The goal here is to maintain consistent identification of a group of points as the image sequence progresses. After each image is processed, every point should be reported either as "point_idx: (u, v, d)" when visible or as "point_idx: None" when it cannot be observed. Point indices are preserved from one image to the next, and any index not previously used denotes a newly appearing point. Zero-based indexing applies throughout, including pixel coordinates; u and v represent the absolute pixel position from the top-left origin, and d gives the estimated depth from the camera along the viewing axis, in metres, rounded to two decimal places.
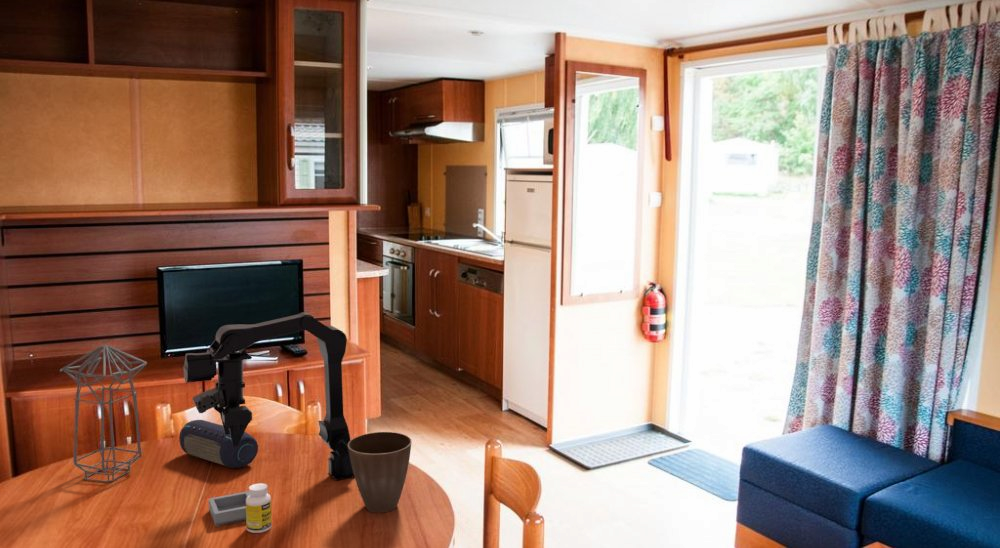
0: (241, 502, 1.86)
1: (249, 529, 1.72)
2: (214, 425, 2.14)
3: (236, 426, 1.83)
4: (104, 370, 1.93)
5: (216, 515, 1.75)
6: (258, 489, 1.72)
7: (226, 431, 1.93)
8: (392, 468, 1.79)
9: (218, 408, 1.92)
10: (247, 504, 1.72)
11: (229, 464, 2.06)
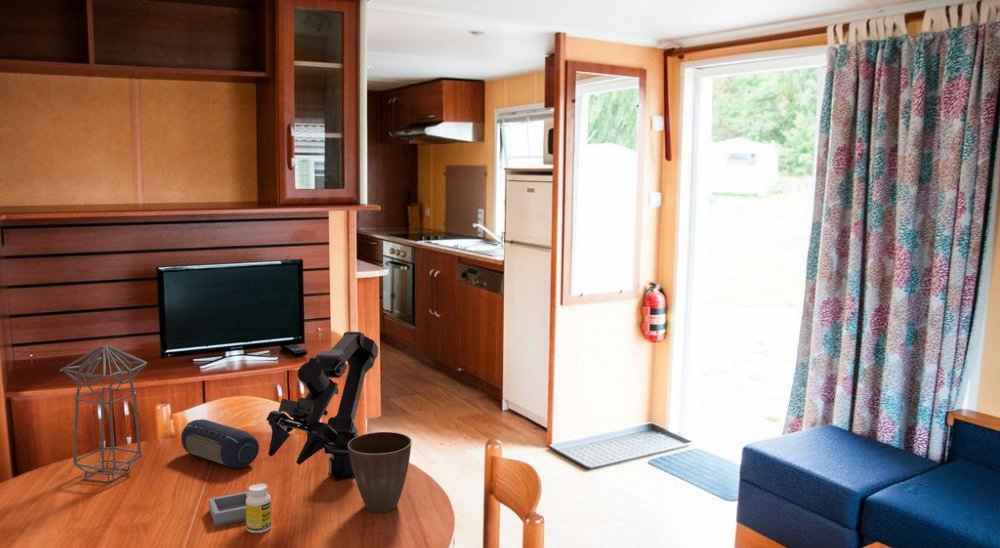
0: (241, 502, 1.86)
1: (249, 529, 1.72)
2: (216, 425, 2.14)
3: (313, 444, 1.79)
4: (104, 370, 1.93)
5: (216, 515, 1.75)
6: (258, 489, 1.72)
7: (271, 452, 1.82)
8: (392, 468, 1.79)
9: (278, 425, 1.84)
10: (247, 504, 1.72)
11: (230, 464, 2.06)
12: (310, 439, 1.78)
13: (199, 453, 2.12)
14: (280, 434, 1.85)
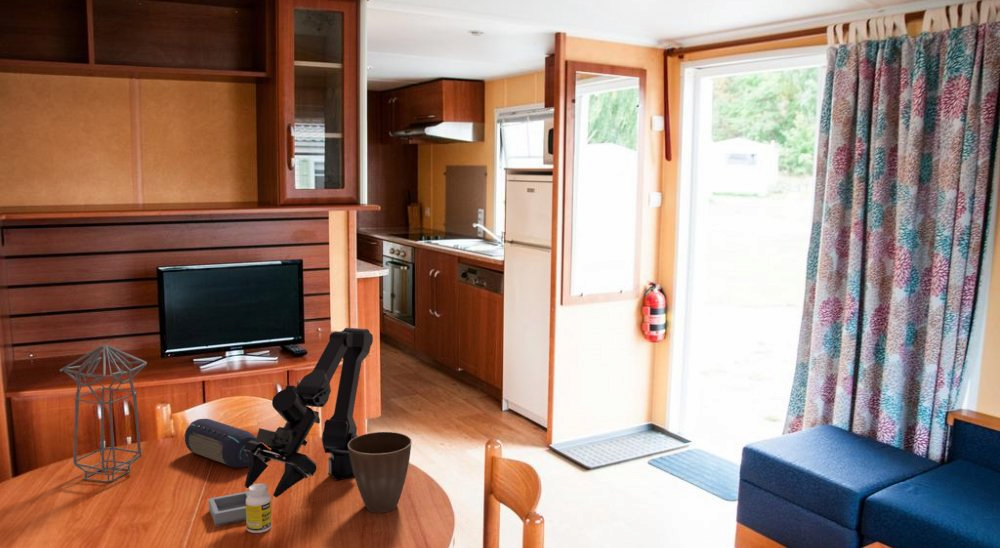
0: (241, 502, 1.86)
1: (249, 529, 1.72)
2: (218, 424, 2.14)
3: (291, 476, 1.74)
4: (104, 370, 1.93)
5: (216, 515, 1.75)
6: (258, 489, 1.72)
7: (248, 483, 1.76)
8: (392, 468, 1.79)
9: (255, 456, 1.79)
10: (247, 504, 1.72)
11: (231, 464, 2.07)
12: (288, 471, 1.72)
13: (201, 452, 2.13)
14: (257, 465, 1.79)
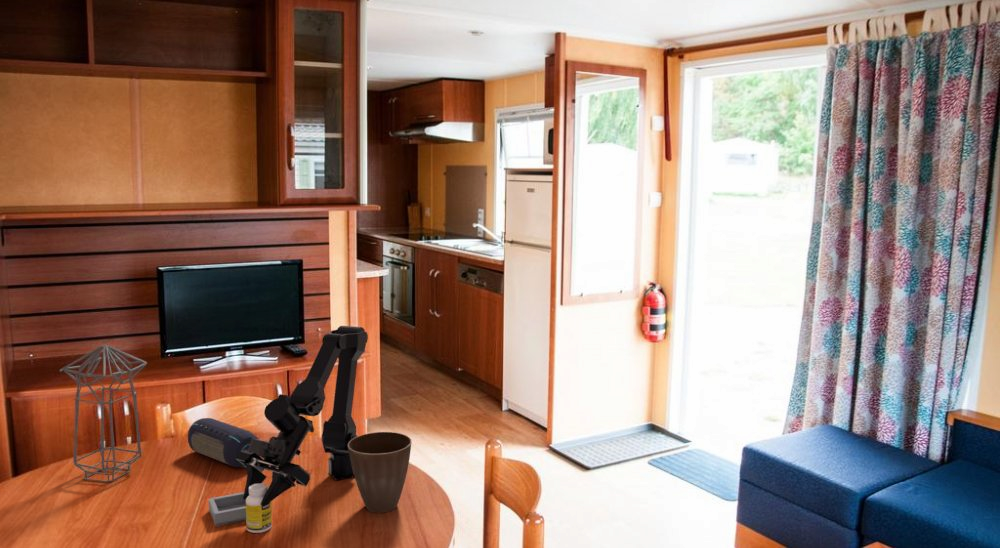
0: (241, 502, 1.86)
1: (249, 529, 1.72)
2: (220, 424, 2.15)
3: (278, 484, 1.73)
4: (104, 370, 1.93)
5: (216, 515, 1.75)
6: (258, 489, 1.72)
7: (246, 495, 1.74)
8: (392, 468, 1.79)
9: (253, 467, 1.76)
10: (247, 504, 1.72)
11: (232, 464, 2.07)
12: (275, 480, 1.72)
13: (204, 452, 2.13)
14: (256, 476, 1.77)
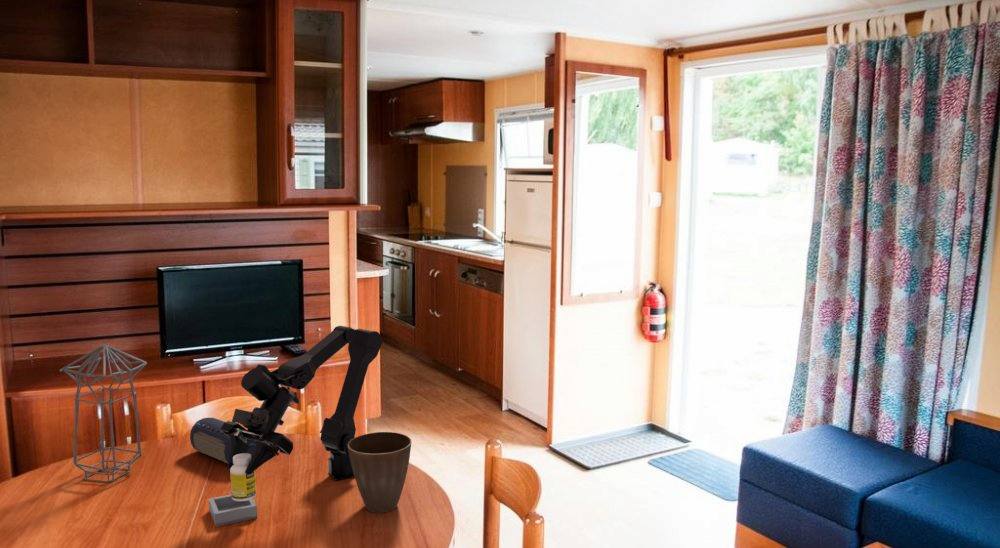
0: (241, 502, 1.86)
1: (234, 498, 1.75)
2: (222, 423, 2.15)
3: (262, 453, 1.76)
4: (104, 370, 1.93)
5: (216, 515, 1.75)
6: (242, 458, 1.75)
7: (230, 465, 1.77)
8: (392, 468, 1.79)
9: (237, 438, 1.79)
10: (231, 473, 1.75)
11: None
12: (259, 448, 1.75)
13: (205, 451, 2.14)
14: (240, 446, 1.80)
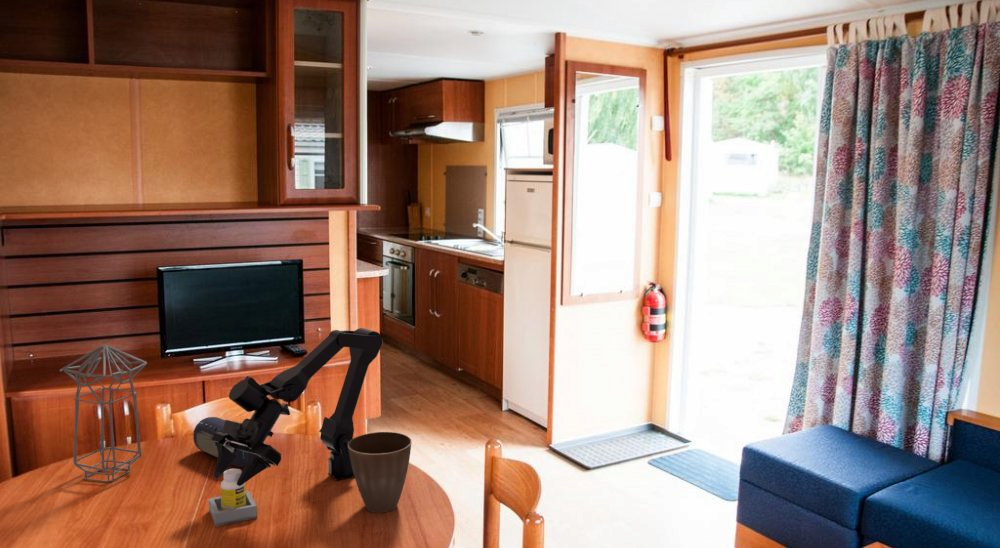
0: None
1: None
2: None
3: (254, 465, 1.79)
4: (104, 370, 1.93)
5: (216, 515, 1.75)
6: (233, 474, 1.79)
7: (216, 474, 1.81)
8: (392, 468, 1.79)
9: (224, 447, 1.83)
10: (222, 488, 1.79)
11: (234, 463, 2.07)
12: (251, 460, 1.78)
13: (208, 451, 2.14)
14: (226, 456, 1.84)
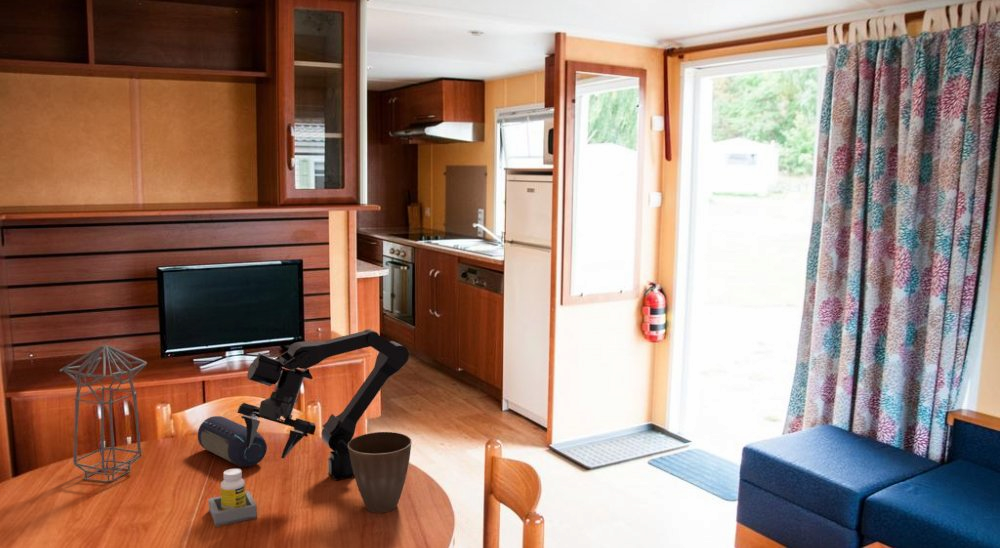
0: None
1: None
2: (228, 422, 2.16)
3: None
4: (104, 370, 1.93)
5: (216, 515, 1.75)
6: (232, 474, 1.79)
7: (249, 444, 1.91)
8: (392, 468, 1.79)
9: (252, 419, 1.91)
10: (222, 488, 1.79)
11: (236, 463, 2.07)
12: (293, 436, 1.89)
13: (211, 450, 2.15)
14: (254, 425, 1.92)
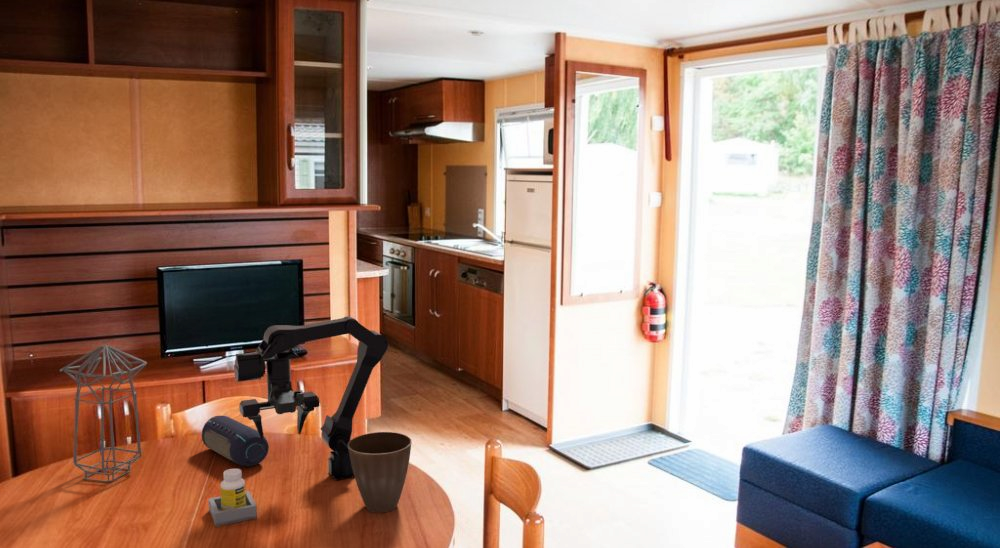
0: None
1: None
2: (231, 422, 2.16)
3: None
4: (104, 370, 1.93)
5: (216, 515, 1.75)
6: (232, 474, 1.79)
7: None
8: (392, 468, 1.79)
9: None
10: (221, 488, 1.79)
11: (238, 463, 2.08)
12: (306, 413, 1.96)
13: (214, 449, 2.15)
14: None
